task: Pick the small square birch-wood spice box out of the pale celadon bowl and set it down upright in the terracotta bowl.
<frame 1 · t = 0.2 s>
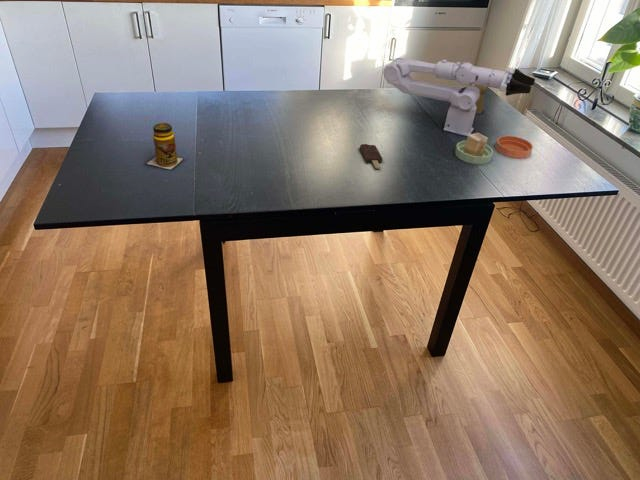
hand: (532, 86, 167), 21 cm above the table, tool horizontal, fingers open, 7 cm apart
condiment: (165, 162, 155), on the table
spice box: (472, 155, 170), resting on celadon bowl
ice cream bar: (371, 159, 164), on the table
celadon bowl: (472, 156, 170), on the table
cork: (474, 111, 202), on the table
terracotta bowl: (512, 151, 175), on the table
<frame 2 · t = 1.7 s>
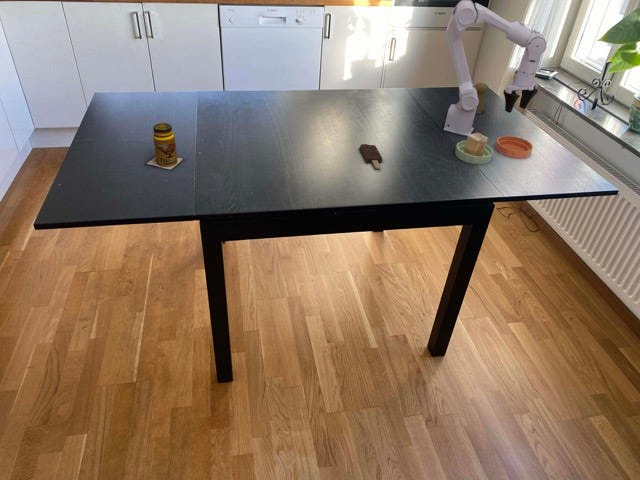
hand: (515, 109, 178), 10 cm above the table, tool pointing down, fingers open, 7 cm apart
nothing on the table moved.
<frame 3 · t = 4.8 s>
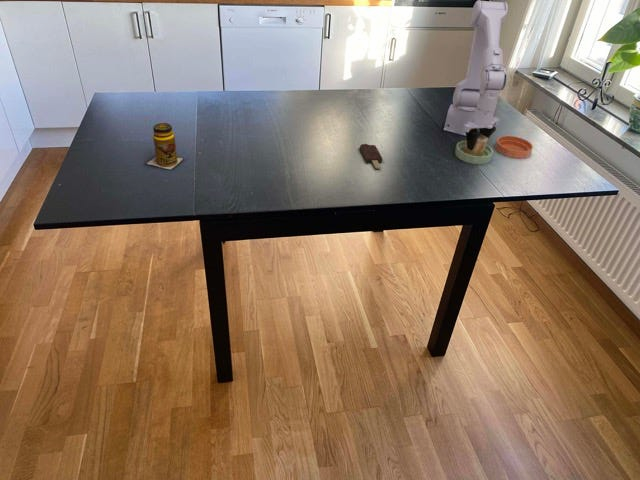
hand: (475, 147, 168), 3 cm above the table, tool pointing down, fingers closed on spice box, 4 cm apart
spice box: (472, 155, 170), resting on celadon bowl, touching gripper
everything else where it was.
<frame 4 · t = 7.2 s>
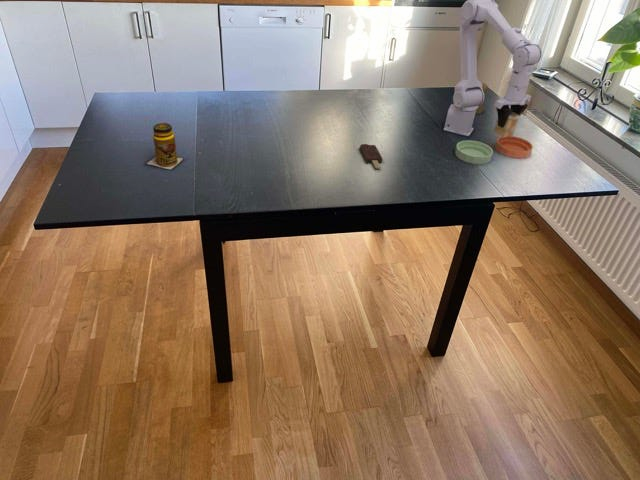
hand: (505, 125, 167), 10 cm above the table, tool pointing down, fingers closed on spice box, 4 cm apart
spice box: (503, 133, 169), point 7 cm above the table, touching gripper
everything else where it was.
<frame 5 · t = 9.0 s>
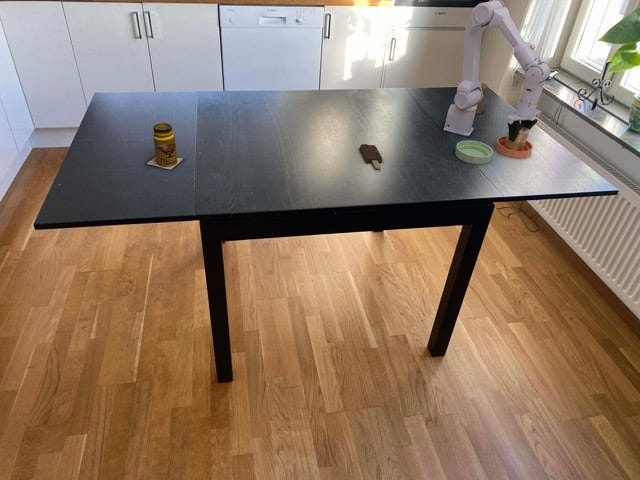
hand: (516, 139, 172), 5 cm above the table, tool pointing down, fingers closed on spice box, 4 cm apart
spice box: (513, 147, 174), point 2 cm above the table, touching gripper
everything else where it was.
when the fingers open (3 cm above the table, at t = 9.9 s): spice box stays where it is, resting on terracotta bowl.
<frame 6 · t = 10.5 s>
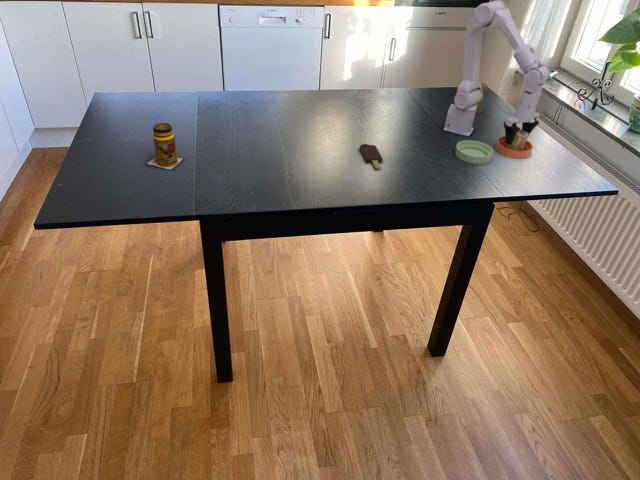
hand: (515, 141, 173), 4 cm above the table, tool pointing down, fingers open, 7 cm apart
spice box: (512, 150, 175), resting on terracotta bowl
everything else where it was.
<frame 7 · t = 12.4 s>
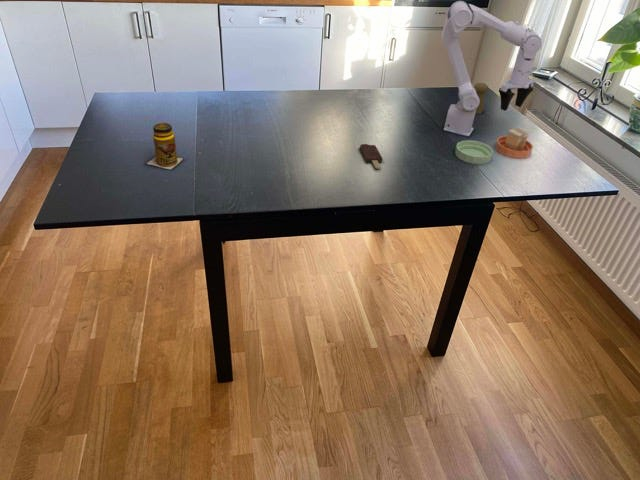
hand: (510, 107, 179), 10 cm above the table, tool pointing down, fingers open, 7 cm apart
nothing on the table moved.
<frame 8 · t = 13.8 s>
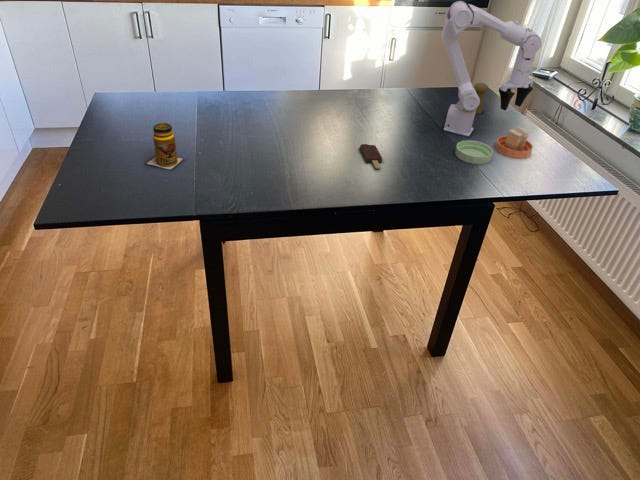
hand: (510, 107, 179), 10 cm above the table, tool pointing down, fingers open, 7 cm apart
nothing on the table moved.
at the end: spice box 0.1 cm off-centre in the terracotta bowl, point 0.4 cm above the terracotta bowl's base; spice box tilted 0°; the gripper is holding nothing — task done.
